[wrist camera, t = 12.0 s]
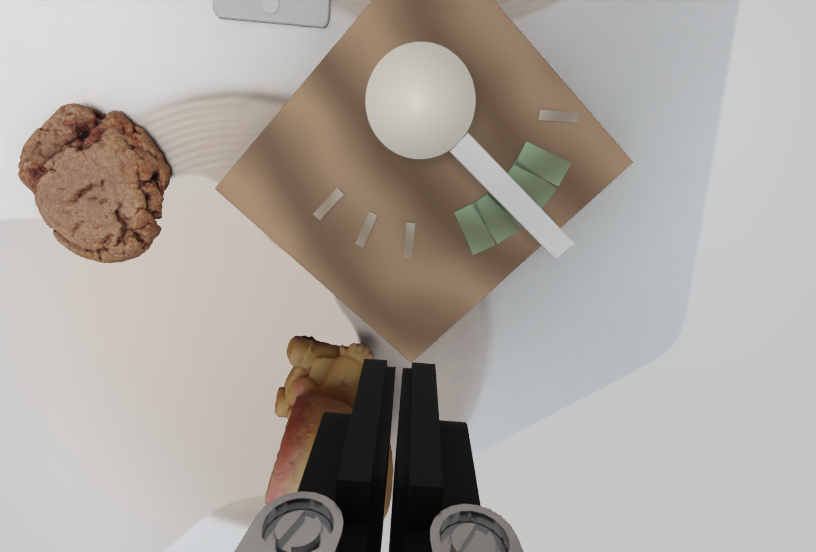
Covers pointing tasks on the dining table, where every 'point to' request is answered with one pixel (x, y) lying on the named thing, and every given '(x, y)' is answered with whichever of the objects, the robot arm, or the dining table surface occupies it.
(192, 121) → the dining table surface
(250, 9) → the smartphone
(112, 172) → the cookie
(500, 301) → the dining table surface
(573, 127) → the tuner board
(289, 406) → the figurine
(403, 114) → the peg dial
